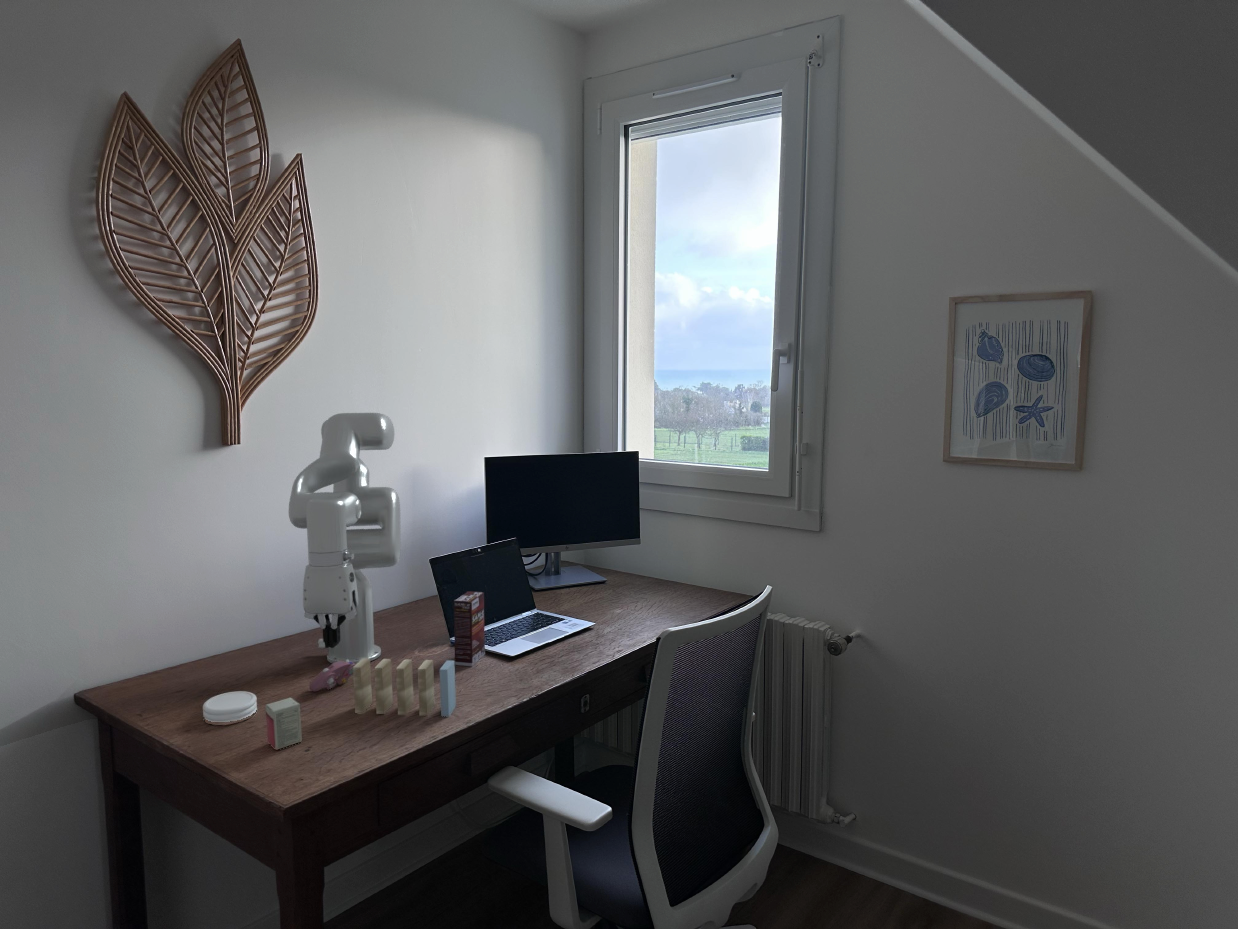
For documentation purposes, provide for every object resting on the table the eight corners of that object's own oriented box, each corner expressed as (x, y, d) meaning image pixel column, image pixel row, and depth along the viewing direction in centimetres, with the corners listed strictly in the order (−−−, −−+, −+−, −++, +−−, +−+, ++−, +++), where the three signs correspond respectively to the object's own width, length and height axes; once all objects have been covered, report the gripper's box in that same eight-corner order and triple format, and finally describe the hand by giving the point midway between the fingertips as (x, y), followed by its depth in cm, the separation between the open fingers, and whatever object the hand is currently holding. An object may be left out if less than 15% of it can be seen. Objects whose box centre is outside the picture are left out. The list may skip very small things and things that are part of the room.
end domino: (441, 716, 164) (439, 669, 163) (448, 706, 169) (446, 660, 168) (448, 716, 164) (447, 669, 163) (455, 706, 169) (454, 660, 168)
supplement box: (473, 667, 191) (471, 602, 189) (454, 665, 192) (452, 600, 190) (486, 654, 199) (484, 591, 197) (468, 652, 200) (466, 590, 198)
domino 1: (355, 714, 166) (353, 667, 164) (364, 703, 171) (362, 658, 169) (362, 714, 166) (360, 667, 164) (372, 704, 171) (370, 658, 169)
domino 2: (376, 714, 165) (374, 667, 164) (385, 704, 170) (383, 658, 169) (384, 714, 165) (382, 668, 164) (392, 704, 170) (390, 659, 169)
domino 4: (419, 716, 165) (417, 669, 163) (427, 705, 170) (425, 660, 168) (427, 716, 165) (425, 669, 163) (434, 705, 170) (433, 660, 168)
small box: (293, 735, 156) (291, 696, 155) (302, 743, 153) (300, 703, 152) (266, 743, 153) (264, 704, 152) (275, 751, 150) (272, 711, 149)
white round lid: (253, 723, 162) (252, 707, 161) (198, 730, 159) (197, 713, 159) (260, 703, 171) (259, 688, 171) (209, 709, 169) (208, 693, 168)
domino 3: (397, 715, 165) (396, 668, 164) (406, 705, 170) (404, 659, 169) (405, 715, 165) (403, 668, 164) (413, 705, 170) (411, 659, 169)
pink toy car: (319, 701, 176) (327, 676, 173) (306, 688, 177) (314, 664, 175) (354, 686, 184) (363, 662, 182) (341, 674, 186) (350, 650, 184)
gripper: (370, 554, 168) (374, 640, 169) (301, 554, 169) (305, 639, 171) (356, 562, 160) (360, 652, 162) (283, 562, 161) (288, 651, 163)
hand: (332, 645), depth 166 cm, fingers closed
